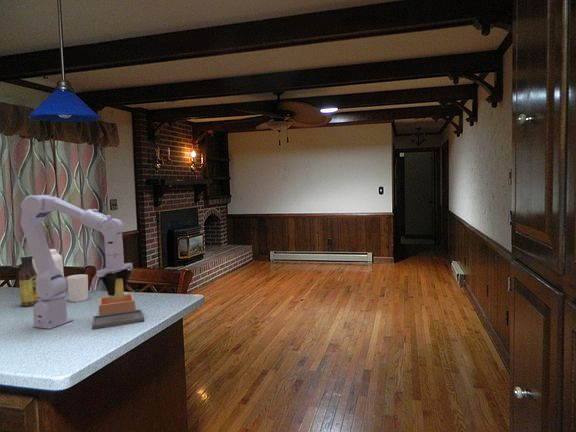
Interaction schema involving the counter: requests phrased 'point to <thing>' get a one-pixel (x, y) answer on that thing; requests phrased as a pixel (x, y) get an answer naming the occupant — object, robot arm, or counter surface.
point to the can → (57, 261)
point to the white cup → (78, 287)
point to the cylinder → (118, 289)
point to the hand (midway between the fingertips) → (116, 293)
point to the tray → (117, 319)
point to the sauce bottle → (28, 282)
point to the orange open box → (116, 304)
